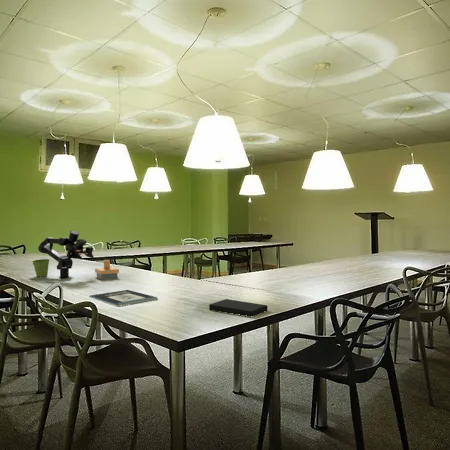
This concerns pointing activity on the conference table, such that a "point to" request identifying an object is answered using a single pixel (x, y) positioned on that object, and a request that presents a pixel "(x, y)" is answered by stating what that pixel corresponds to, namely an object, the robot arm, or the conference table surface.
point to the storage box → (107, 276)
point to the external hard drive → (238, 307)
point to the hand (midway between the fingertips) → (87, 257)
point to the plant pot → (41, 267)
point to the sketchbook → (123, 297)
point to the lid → (106, 268)
